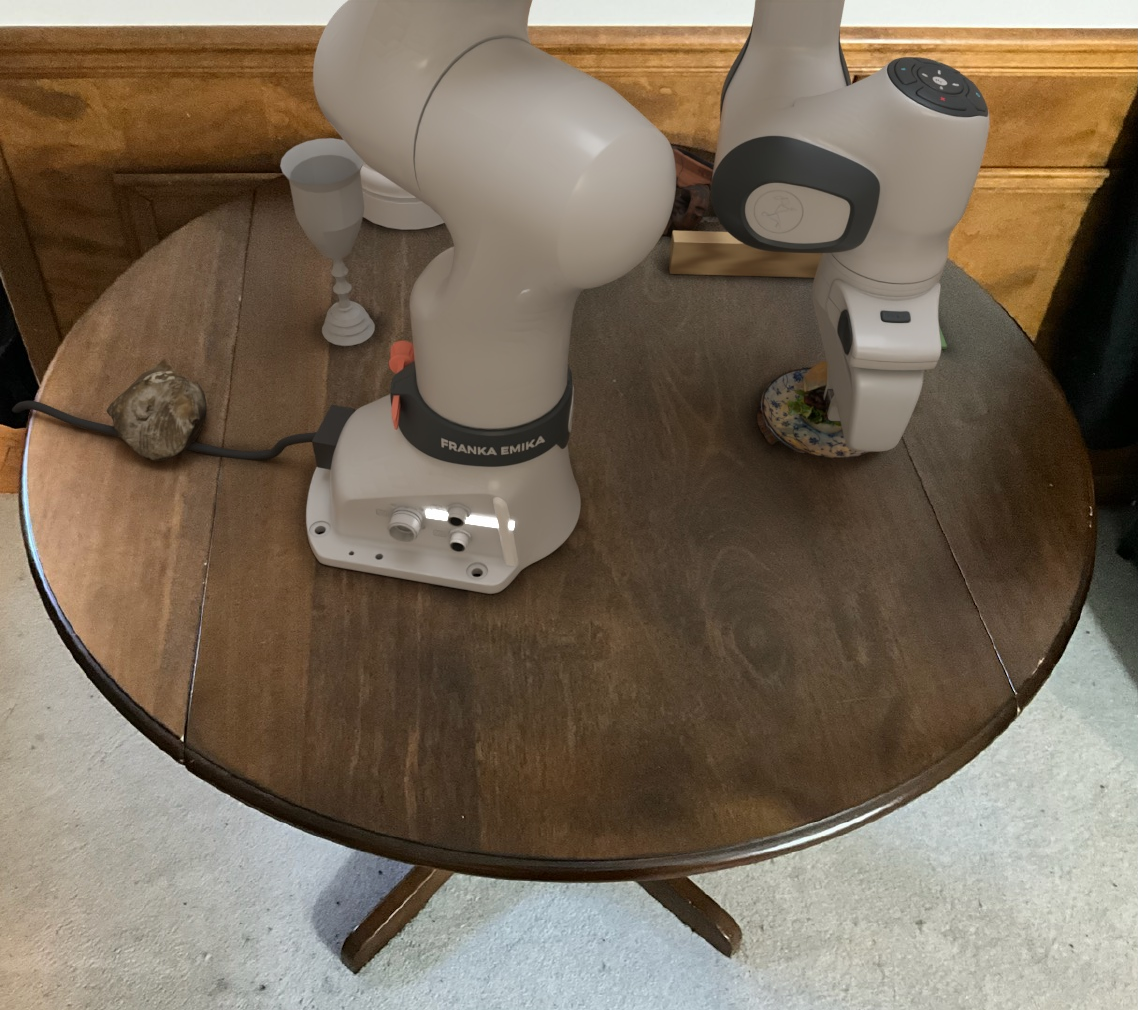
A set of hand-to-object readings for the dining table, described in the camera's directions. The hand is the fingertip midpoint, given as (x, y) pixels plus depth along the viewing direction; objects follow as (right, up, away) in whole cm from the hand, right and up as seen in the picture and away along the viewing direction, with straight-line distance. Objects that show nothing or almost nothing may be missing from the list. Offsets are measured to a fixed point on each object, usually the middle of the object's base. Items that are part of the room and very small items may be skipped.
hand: (834, 410), depth 90 cm
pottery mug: (-11, +23, +25) cm, 36 cm away
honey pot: (-41, +26, +26) cm, 55 cm away
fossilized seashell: (-58, -2, +1) cm, 58 cm away
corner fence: (-2, +9, +13) cm, 16 cm away
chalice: (-44, +9, +11) cm, 47 cm away
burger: (0, -1, +5) cm, 5 cm away
